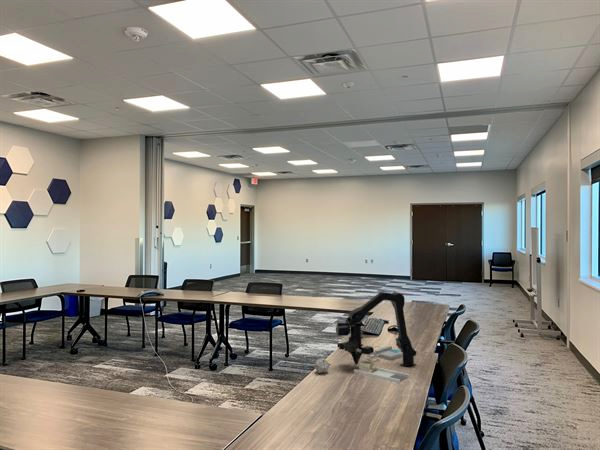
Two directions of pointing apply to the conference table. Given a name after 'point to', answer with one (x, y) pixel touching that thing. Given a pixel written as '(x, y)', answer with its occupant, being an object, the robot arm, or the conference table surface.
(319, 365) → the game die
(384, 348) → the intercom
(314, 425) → the conference table surface
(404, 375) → the trap lane
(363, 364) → the birch block
